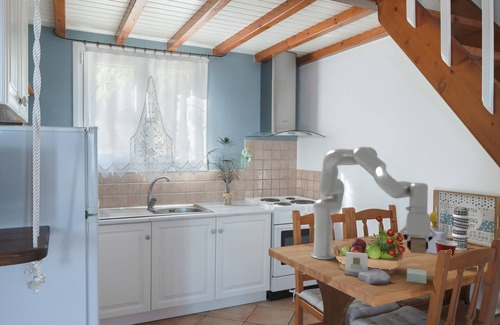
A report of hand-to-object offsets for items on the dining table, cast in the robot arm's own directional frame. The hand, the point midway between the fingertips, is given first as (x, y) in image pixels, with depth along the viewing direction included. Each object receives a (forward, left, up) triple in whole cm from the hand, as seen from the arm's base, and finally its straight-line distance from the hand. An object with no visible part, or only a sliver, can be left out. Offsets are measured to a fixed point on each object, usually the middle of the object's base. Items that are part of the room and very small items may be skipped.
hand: (417, 249), depth 178 cm
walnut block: (0, 0, -1) cm, 1 cm away
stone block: (+8, -18, -14) cm, 24 cm away
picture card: (+2, -26, -14) cm, 30 cm away
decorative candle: (-72, +33, -14) cm, 80 cm away
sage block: (0, 0, -14) cm, 14 cm away
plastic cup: (-31, +18, -14) cm, 38 cm away
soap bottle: (-55, +16, -14) cm, 59 cm away
